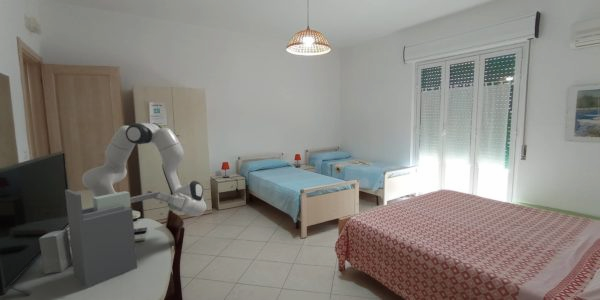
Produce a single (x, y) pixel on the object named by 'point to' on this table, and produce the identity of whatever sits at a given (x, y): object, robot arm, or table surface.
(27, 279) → the table surface
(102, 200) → the pale block gray handle
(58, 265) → the skincare box
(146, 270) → the table surface
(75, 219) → the caddy bay
